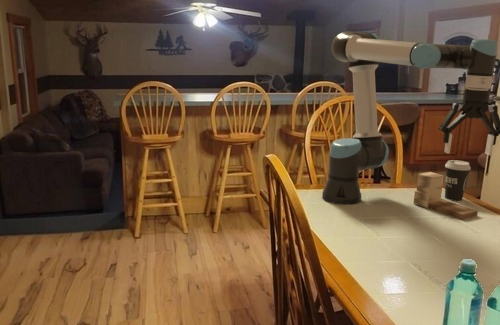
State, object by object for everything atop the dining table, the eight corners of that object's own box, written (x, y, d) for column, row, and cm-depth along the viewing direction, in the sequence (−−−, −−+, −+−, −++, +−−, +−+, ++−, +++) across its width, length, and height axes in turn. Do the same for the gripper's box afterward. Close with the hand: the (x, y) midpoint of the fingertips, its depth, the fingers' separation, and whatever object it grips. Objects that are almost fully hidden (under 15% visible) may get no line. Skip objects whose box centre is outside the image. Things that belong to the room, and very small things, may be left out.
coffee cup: (444, 193, 197) (448, 158, 194) (468, 198, 192) (473, 162, 188) (438, 198, 190) (442, 162, 186) (463, 203, 184) (468, 166, 181)
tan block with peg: (413, 203, 182) (416, 174, 179) (430, 199, 187) (433, 171, 184) (426, 207, 177) (430, 177, 174) (443, 204, 182) (447, 174, 179)
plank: (413, 202, 183) (414, 197, 183) (429, 199, 188) (429, 194, 187) (461, 219, 166) (462, 214, 165) (477, 215, 170) (478, 210, 170)
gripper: (442, 88, 147) (433, 154, 152) (522, 91, 147) (511, 157, 152) (434, 86, 154) (425, 149, 159) (510, 89, 154) (499, 152, 159)
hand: (467, 153), depth 156 cm, fingers open, 13 cm apart
